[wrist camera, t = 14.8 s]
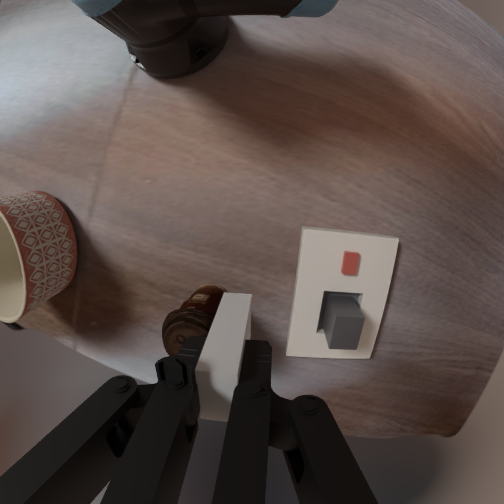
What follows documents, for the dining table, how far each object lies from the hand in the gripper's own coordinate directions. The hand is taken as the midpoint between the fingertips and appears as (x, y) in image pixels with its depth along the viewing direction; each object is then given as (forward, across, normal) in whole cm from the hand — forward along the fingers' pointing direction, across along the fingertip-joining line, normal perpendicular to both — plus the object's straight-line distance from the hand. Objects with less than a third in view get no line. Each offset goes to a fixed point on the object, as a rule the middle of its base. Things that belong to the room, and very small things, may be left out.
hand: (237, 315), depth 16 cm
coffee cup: (+26, -7, -13) cm, 30 cm away
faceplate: (+26, +12, -11) cm, 30 cm away
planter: (+26, -39, -4) cm, 47 cm away
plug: (+25, +12, -13) cm, 31 cm away
